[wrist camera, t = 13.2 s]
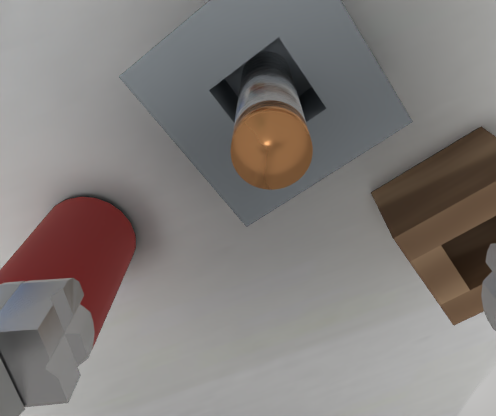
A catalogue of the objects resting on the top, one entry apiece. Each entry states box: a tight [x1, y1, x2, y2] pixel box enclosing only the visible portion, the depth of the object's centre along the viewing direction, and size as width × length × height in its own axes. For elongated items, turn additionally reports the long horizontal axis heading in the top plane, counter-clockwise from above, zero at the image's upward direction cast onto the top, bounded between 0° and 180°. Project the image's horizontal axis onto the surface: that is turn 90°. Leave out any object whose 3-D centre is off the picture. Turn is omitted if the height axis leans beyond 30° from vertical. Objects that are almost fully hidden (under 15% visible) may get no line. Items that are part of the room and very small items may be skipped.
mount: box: [371, 127, 496, 325], centre depth 29 cm, size 8×8×6 cm
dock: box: [119, 0, 413, 227], centre depth 25 cm, size 10×10×7 cm
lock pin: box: [230, 51, 313, 190], centre depth 21 cm, size 3×3×12 cm
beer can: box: [0, 197, 136, 349], centre depth 28 cm, size 7×7×12 cm
